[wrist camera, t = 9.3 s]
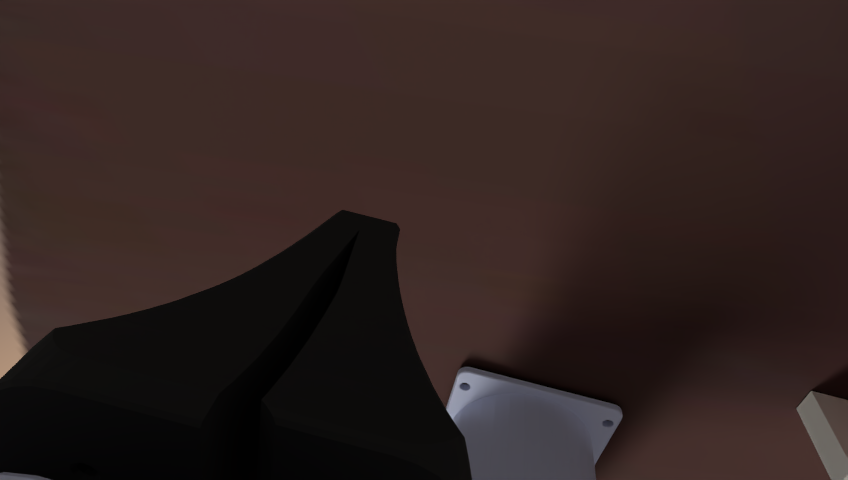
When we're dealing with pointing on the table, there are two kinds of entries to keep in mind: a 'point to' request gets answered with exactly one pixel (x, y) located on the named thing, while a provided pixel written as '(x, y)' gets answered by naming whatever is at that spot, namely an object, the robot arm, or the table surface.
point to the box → (828, 430)
